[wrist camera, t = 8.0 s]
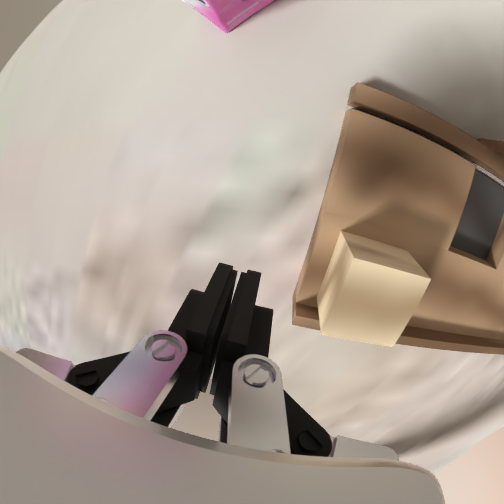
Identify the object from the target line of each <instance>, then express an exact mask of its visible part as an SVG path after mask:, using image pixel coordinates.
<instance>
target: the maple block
mask: <svg viewBox="0 0 504 504" xmlns="http://www.w3.org/2000/svg"><path fill="white" fill-rule="evenodd" d="M430 281H431V278H430V277H429V276H428V275H427V273H426V272H425V271H424V270H423V269H422V267H421V266H420V265H419V264H418V263H417V261H416V260H415V259H414V258H413V257H412V256H411V254H410V253H409V252H408V251H407V250H404V249H401V248H398V247H395V246H391V245H388V244H385V243H381V242H378V241H375V240H371V239H368V238H365V237H361V236H358V235H354V234H351V233H347V232H344V231H340V234H339V237H338V240H337V243H336V246H335V249H334V252H333V255H332V257H331V260H330V263H329V266H328V269H327V271H326V274H325V277H324V279H323V282H322V285H321V287H320V290H319V292H318V295H317V304H318V312H319V321H320V330H321V335H326V336H331V337H336V338H342V339H347V340H353V341H359V342H364V343H371V344H377V345H383V346H390V347H393V346H394V345H395V343H396V342H397V340H398V338H399V337H400V335H401V334H402V332H403V330H404V329H405V327H406V325H407V323H408V322H409V320H410V318H411V317H412V315H413V313H414V311H415V309H416V308H417V306H418V304H419V302H420V300H421V298H422V296H423V295H424V293H425V291H426V289H427V287H428V285H429V283H430Z"/></svg>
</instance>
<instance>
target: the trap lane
mask: <svg viewBox="0 0 504 504" xmlns="http://www.w3.org/2000/svg"><path fill="white" fill-rule="evenodd" d="M347 105H349V106H352V107H355V108H358V109H361V110H364V111H367V112H370V113H372V114H375V115H378V116H380V117H383V118H385V119H388V120H390V121H393V122H395V123H398V124H400V125H402V126H405V127H407V128H409V129H412V130H414V131H416V132H418V133H420V134H422V135H424V136H426V137H429V138H431V139H433V140H435V141H437V142H438V143H440V144H442V145H444V146H446V147H448V148H450V149H452V150H453V151H455V152H457V153H459V154H461V155H462V156H464V157H466V158H467V159H469V160H471V161H472V162H474V163H476V164H477V165H479V166H481V167H482V168H484V169H485V170H487V171H488V172H490V173H491V174H493V175H494V176H496V177H497V178H499V179H500V180H502V181H503V182H504V142H500V141H494V140H487V139H479V140H478V141H477V140H476V139H474V138H473V137H471V136H470V135H468V134H466V133H465V132H463V131H461V130H460V129H458V128H456V127H455V126H453V125H451V124H449V123H448V122H446V121H444V120H442V119H440V118H439V117H437V116H435V115H433V114H431V113H429V112H427V111H425V110H423V109H421V108H419V107H417V106H415V105H413V104H410V103H408V102H406V101H404V100H402V99H399V98H397V97H395V96H392V95H390V94H387V93H385V92H382V91H380V90H377V89H375V88H372V87H369V86H367V85H364V84H361V83H357V84H356V85H354V86H353V87H352V88H351V90H350V95H349V99H348V104H347ZM475 168H476V165H474V164H472V163H471V162H469V161H467V160H466V159H464V158H462V157H461V156H459V155H457V154H455V153H453V152H452V151H450V150H448V149H446V148H444V147H442V146H440V145H438V144H436V143H434V142H432V141H430V140H428V139H426V138H424V137H422V136H420V135H418V134H416V133H413V132H411V131H409V130H407V129H404V128H402V127H400V126H397V125H395V124H393V123H390V122H388V121H385V120H383V119H380V118H377V117H375V116H372V115H369V114H366V113H364V112H361V111H358V110H355V109H351V110H348V111H346V113H345V117H344V121H343V126H342V130H341V134H340V138H339V142H338V146H337V150H336V154H335V158H334V162H333V165H332V169H331V173H330V177H329V180H328V184H327V188H326V191H325V195H324V198H323V202H322V205H321V209H320V212H319V216H318V219H317V222H316V226H315V229H314V232H313V236H312V239H311V242H310V245H309V249H308V252H307V255H306V258H305V261H304V264H303V267H302V270H301V273H300V277H299V280H298V283H297V286H296V288H295V291H294V294H293V315H292V325H297V326H301V327H306V328H311V329H316V330H320V321H319V312H318V304H317V295H318V292H319V290H320V287H321V285H322V282H323V279H324V277H325V274H326V271H327V269H328V266H329V263H330V260H331V257H332V255H333V252H334V249H335V246H336V243H337V240H338V237H339V234H340V231H344V232H347V233H351V234H354V235H358V236H361V237H365V238H368V239H371V240H375V241H378V242H381V243H385V244H388V245H391V246H395V247H398V248H401V249H404V250H407V251H408V252H409V253H410V254H411V256H412V257H413V258H414V259H415V260H416V261H417V263H418V264H419V265H420V266H421V267H422V269H423V270H424V271H425V272H426V273H427V275H428V276H429V277H430V278H431V281H430V283H429V285H428V287H427V289H426V291H425V293H424V295H423V296H422V298H421V300H420V302H419V304H418V306H417V308H416V309H415V311H414V313H413V315H412V317H411V318H410V320H409V322H408V323H407V325H406V327H405V329H404V330H403V332H402V334H401V335H400V337H399V338H398V340H397V342H396V343H395V344H402V345H409V346H417V347H425V348H433V349H442V350H451V351H462V352H474V353H487V354H504V188H503V187H502V186H500V185H499V184H497V183H496V182H494V181H493V180H491V179H490V178H488V177H486V176H485V175H483V174H482V173H480V172H479V171H477V170H475Z"/></svg>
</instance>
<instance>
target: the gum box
mask: <svg viewBox="0 0 504 504" xmlns="http://www.w3.org/2000/svg"><path fill="white" fill-rule="evenodd" d="M182 1H183V2H185V3H186V4H187V5H189V6H190V7H192V8H194V9H195V10H197V11H198V12H199V13H201V14H202V15H204V16H205V17H206V18H208V19H209V20H210V21H211V22H213V23H214V24H215V25H217V26H218V27H219V28H221V29H222V30H223V31H224V32H225V33H228V32H229V31H231V30H232V29H233V28H235V27H236V26H237V25H239V24H240V23H241V22H243V21H244V20H245V19H247V18H248V17H250V16H251V15H252V14H254V13H256V12H257V11H259V10H260V9H262V8H264V7H265V6H267V5H268V4H270V3H271V2H273V1H275V0H182Z"/></svg>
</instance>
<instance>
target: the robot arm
mask: <svg viewBox="0 0 504 504" xmlns="http://www.w3.org/2000/svg"><path fill="white" fill-rule="evenodd" d="M236 276H237V271H236V270H233V266H231V265H227V264H223V263H219V264H218V266H217V268H216V270H215V272H214V274H213V276H212V278H211V280H210V282H209V284H208V286H207V288H206V290H205V292H201V291H197V290H194V289H192V290H191V291H190V292H189V294H188V295H187V297H186V299H185V301H184V303H183V304H182V306H181V308H180V310H179V311H178V313H177V315H176V317H175V319H174V320H173V322H172V324H171V326H170V327H169V329H168V331H165V330H158V331H153V332H151V333H148V334H147V335H146V336H144V337H143V338H142V339H141V341H140V342H139V343H138V344H137V345H136V346H135V347H134V348H133V350H132V351H130V352H127V353H123V354H119V355H114V356H110V357H106V358H102V359H98V360H93V361H89V362H84V363H81V364H78V365H73V363H72V361H68V360H64V359H61V358H58V357H54V356H51V355H48V354H45V353H42V352H39V351H36V350H33V349H28V348H24V349H20V350H19V351H17V352H14V351H12V350H10V349H7V348H5V347H2V346H0V504H445V500H444V496H443V493H442V489H441V487H440V484H439V482H438V480H437V479H436V478H435V476H434V475H433V474H432V473H431V472H430V471H428V470H426V469H424V468H422V467H419V466H417V465H414V464H411V463H407V462H402V461H399V458H398V456H397V454H396V452H395V451H394V450H393V449H392V448H390V447H387V446H383V445H378V444H373V443H368V442H364V441H359V440H355V439H351V438H347V437H343V436H339V435H338V436H337V437H332V436H330V435H329V434H328V433H327V432H326V430H325V429H324V428H323V427H321V426H320V425H319V424H318V423H317V422H316V421H315V420H314V419H313V418H312V417H311V416H310V415H309V414H308V413H307V412H306V411H305V410H304V409H303V408H302V407H301V406H300V405H299V404H298V403H296V402H295V401H294V400H293V399H292V398H291V397H290V396H289V395H288V394H287V393H286V391H285V390H284V389H283V383H282V374H281V371H280V368H279V367H278V366H277V364H276V363H275V362H273V361H272V360H271V359H269V358H268V353H269V344H270V336H271V327H272V318H273V309H269V308H265V307H260V306H256V305H255V302H256V297H257V292H258V287H259V282H260V277H261V273H260V272H256V271H252V270H248V271H247V273H244V272H241V275H240V278H239V281H238V284H237V287H236V290H235V293H234V296H233V299H232V295H233V291H234V286H235V281H236ZM231 300H232V303H231ZM230 305H231V306H230ZM215 361H216V362H215ZM214 364H215V367H214ZM213 367H214V373H213V379H212V385H211V390H210V394H212V395H214V400H213V406H214V407H215V409H216V410H217V411H218V413H219V414H220V415H221V416H220V422H219V439H218V441H214V440H210V439H205V438H202V437H198V436H195V435H191V434H188V433H184V432H181V431H177V430H175V429H172V427H173V425H174V423H175V422H176V420H177V418H178V416H179V415H180V413H181V411H182V409H183V407H184V404H185V403H187V402H190V401H193V400H194V399H195V398H196V399H197V398H198V396H199V393H200V391H201V392H204V393H205V392H206V389H207V386H208V382H209V379H210V376H211V373H212V370H213Z"/></svg>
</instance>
